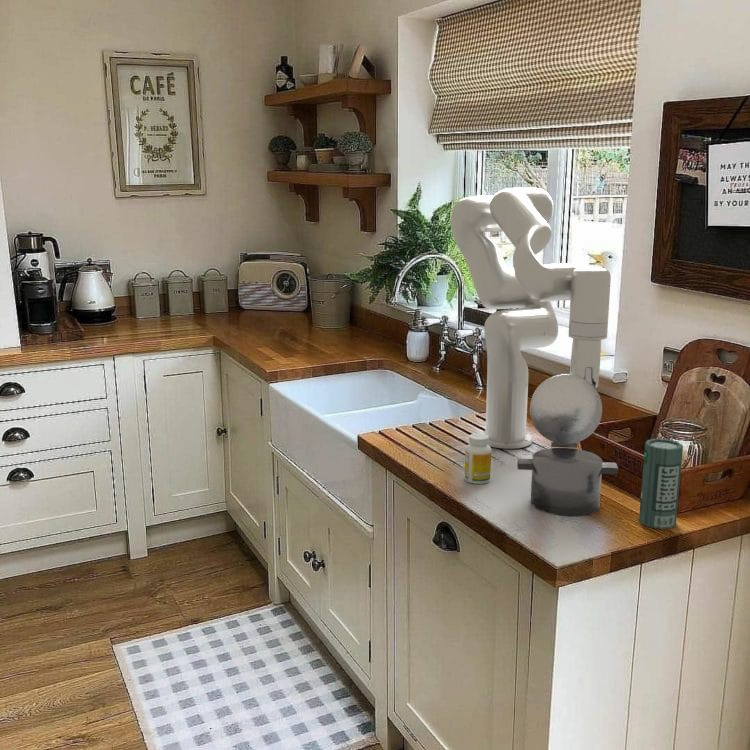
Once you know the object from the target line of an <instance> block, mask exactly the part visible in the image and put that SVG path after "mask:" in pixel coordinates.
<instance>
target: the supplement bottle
mask: <svg viewBox="0 0 750 750" xmlns="http://www.w3.org/2000/svg"><path fill="white" fill-rule="evenodd" d="M480 433H481V432H480ZM480 433H479V432H478V433H471V434H469V436H468V437H469V438H468V442H469V443H468V444H467V445H466V446H465V453H464V480H465V481H466V482H467V483H469V484H472V483H473V484H474V485H484V484H488V483H489V482H490V480H491V473H492V448H491V446H489V445H487V444H488V443H489V436H488V435H486V434H480Z"/></svg>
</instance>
